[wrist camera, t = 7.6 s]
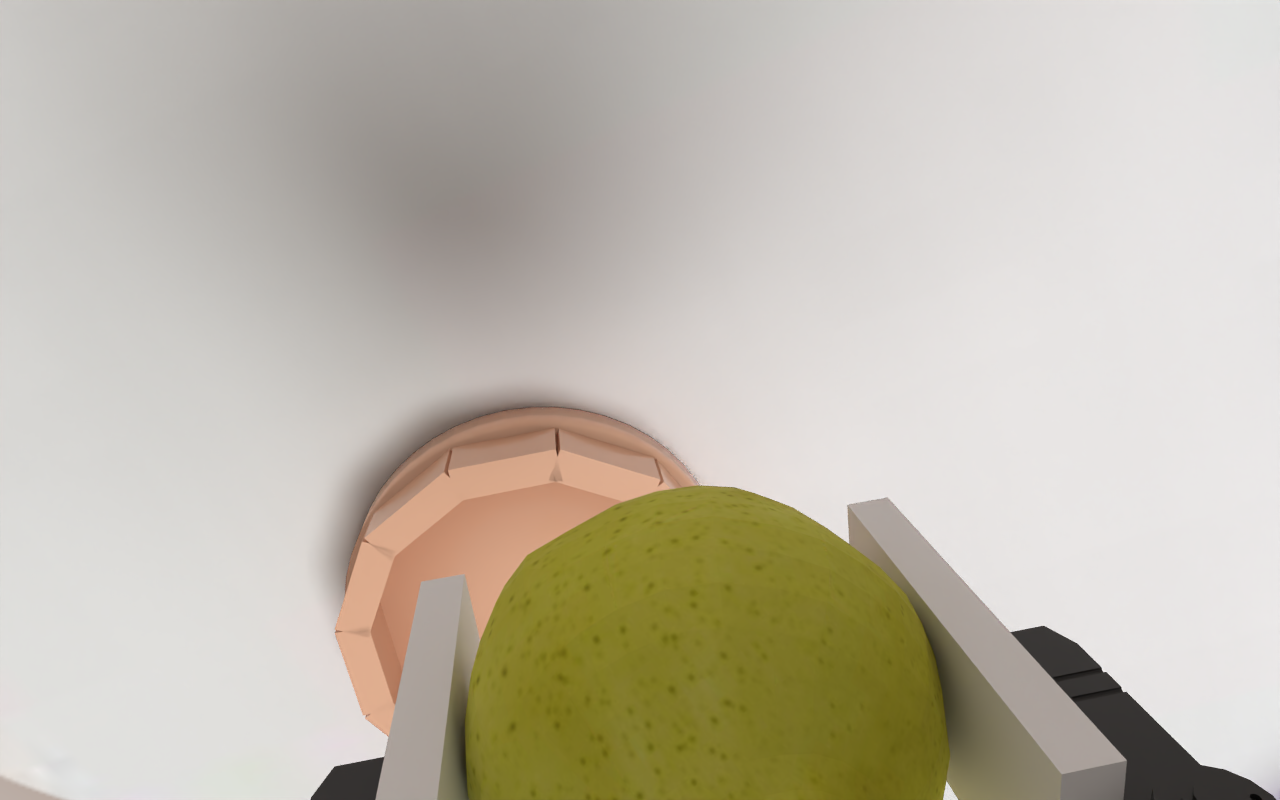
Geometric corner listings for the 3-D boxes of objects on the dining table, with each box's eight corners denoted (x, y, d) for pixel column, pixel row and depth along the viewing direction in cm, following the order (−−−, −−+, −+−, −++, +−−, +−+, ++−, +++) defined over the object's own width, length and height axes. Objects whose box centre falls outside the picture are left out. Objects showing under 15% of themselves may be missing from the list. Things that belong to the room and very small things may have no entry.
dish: (307, 447, 32) (277, 494, 28) (696, 373, 33) (717, 409, 29) (408, 756, 37) (394, 830, 34) (741, 686, 38) (763, 750, 34)
